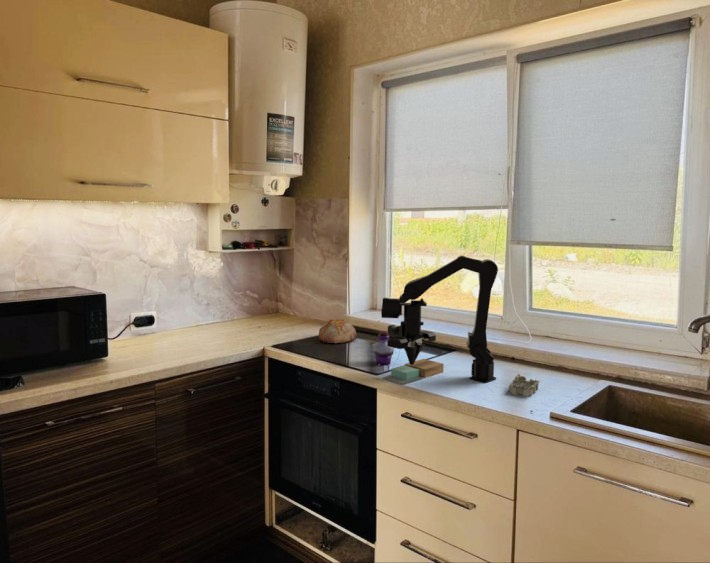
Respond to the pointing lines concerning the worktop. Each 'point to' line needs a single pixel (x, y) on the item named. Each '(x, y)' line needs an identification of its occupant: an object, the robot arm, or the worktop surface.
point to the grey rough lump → (523, 386)
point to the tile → (405, 372)
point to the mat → (401, 381)
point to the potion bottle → (383, 349)
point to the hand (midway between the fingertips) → (411, 364)
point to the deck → (427, 367)
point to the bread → (337, 332)
